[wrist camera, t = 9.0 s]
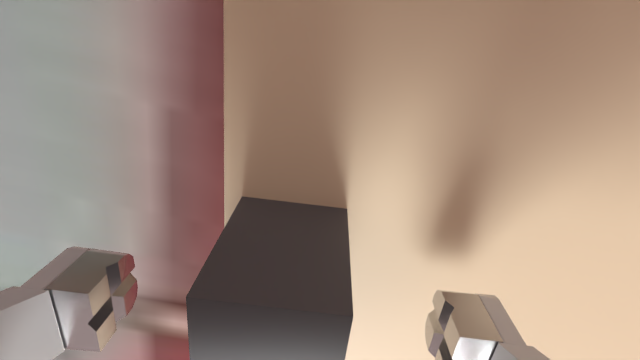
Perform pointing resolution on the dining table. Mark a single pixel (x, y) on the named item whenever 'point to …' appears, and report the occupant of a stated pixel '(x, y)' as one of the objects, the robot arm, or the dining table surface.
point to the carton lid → (424, 177)
